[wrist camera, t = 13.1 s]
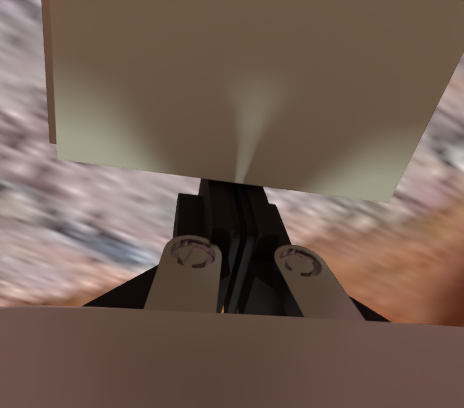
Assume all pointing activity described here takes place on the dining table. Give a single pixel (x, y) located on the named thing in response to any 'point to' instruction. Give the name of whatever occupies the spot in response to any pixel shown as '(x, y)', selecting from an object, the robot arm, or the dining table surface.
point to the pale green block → (254, 87)
